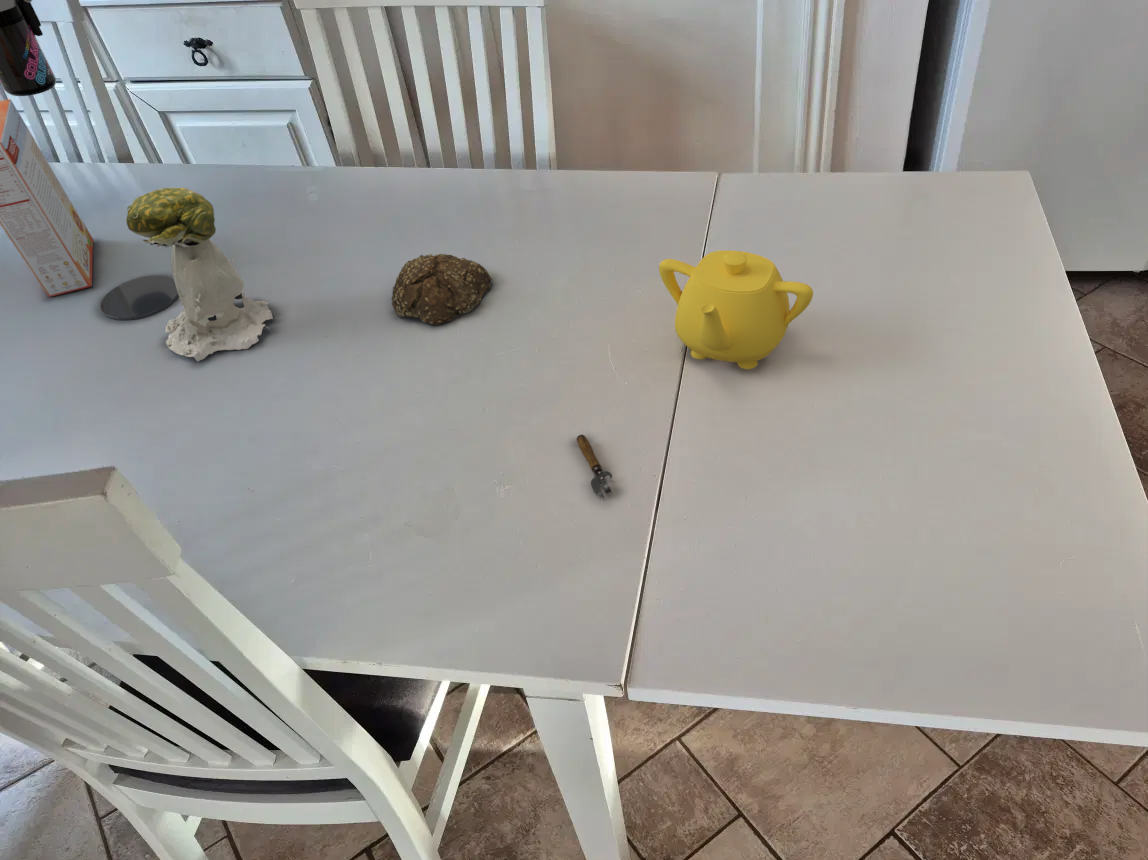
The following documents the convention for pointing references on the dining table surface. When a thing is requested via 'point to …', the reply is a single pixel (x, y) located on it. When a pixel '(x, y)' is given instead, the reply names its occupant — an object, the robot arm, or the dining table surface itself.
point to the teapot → (733, 305)
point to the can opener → (594, 466)
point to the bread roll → (439, 288)
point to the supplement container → (21, 54)
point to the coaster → (139, 297)
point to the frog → (198, 274)
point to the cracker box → (40, 211)
